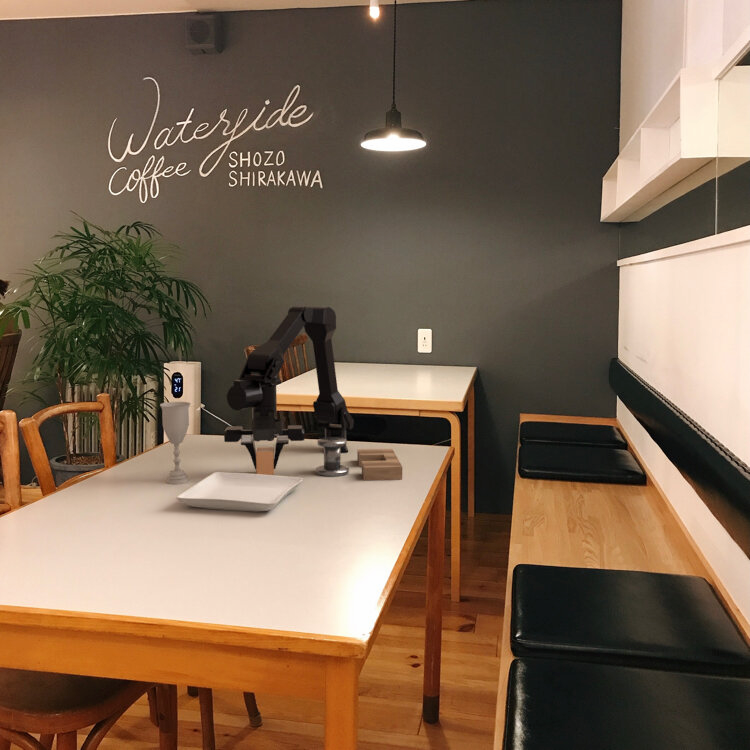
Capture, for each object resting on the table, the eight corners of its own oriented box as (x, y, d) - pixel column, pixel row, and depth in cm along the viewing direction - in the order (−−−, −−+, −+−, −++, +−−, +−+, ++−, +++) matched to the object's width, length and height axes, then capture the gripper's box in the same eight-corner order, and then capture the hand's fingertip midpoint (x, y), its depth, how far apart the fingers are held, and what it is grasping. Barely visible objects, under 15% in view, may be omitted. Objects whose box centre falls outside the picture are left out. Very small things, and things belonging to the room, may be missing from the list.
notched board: (357, 460, 210) (357, 449, 210) (392, 460, 211) (392, 448, 211) (363, 480, 190) (363, 467, 190) (402, 479, 191) (402, 466, 191)
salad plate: (274, 518, 162) (274, 501, 161) (174, 512, 166) (173, 495, 165) (305, 491, 182) (304, 476, 182) (215, 486, 186) (214, 471, 186)
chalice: (188, 485, 185) (186, 406, 183) (158, 485, 186) (155, 406, 183) (195, 477, 193) (193, 401, 191) (167, 477, 193) (164, 401, 191)
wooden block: (257, 471, 198) (257, 447, 198) (274, 471, 199) (273, 447, 198) (256, 476, 193) (256, 451, 193) (273, 476, 194) (273, 451, 193)
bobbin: (315, 469, 201) (315, 437, 200) (347, 468, 202) (347, 436, 201) (316, 477, 193) (315, 443, 192) (349, 476, 194) (349, 443, 193)
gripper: (221, 410, 185) (222, 478, 187) (304, 409, 187) (304, 476, 189) (225, 403, 196) (226, 466, 198) (303, 402, 198) (304, 465, 200)
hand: (265, 469), depth 196 cm, fingers closed on wooden block, 4 cm apart
